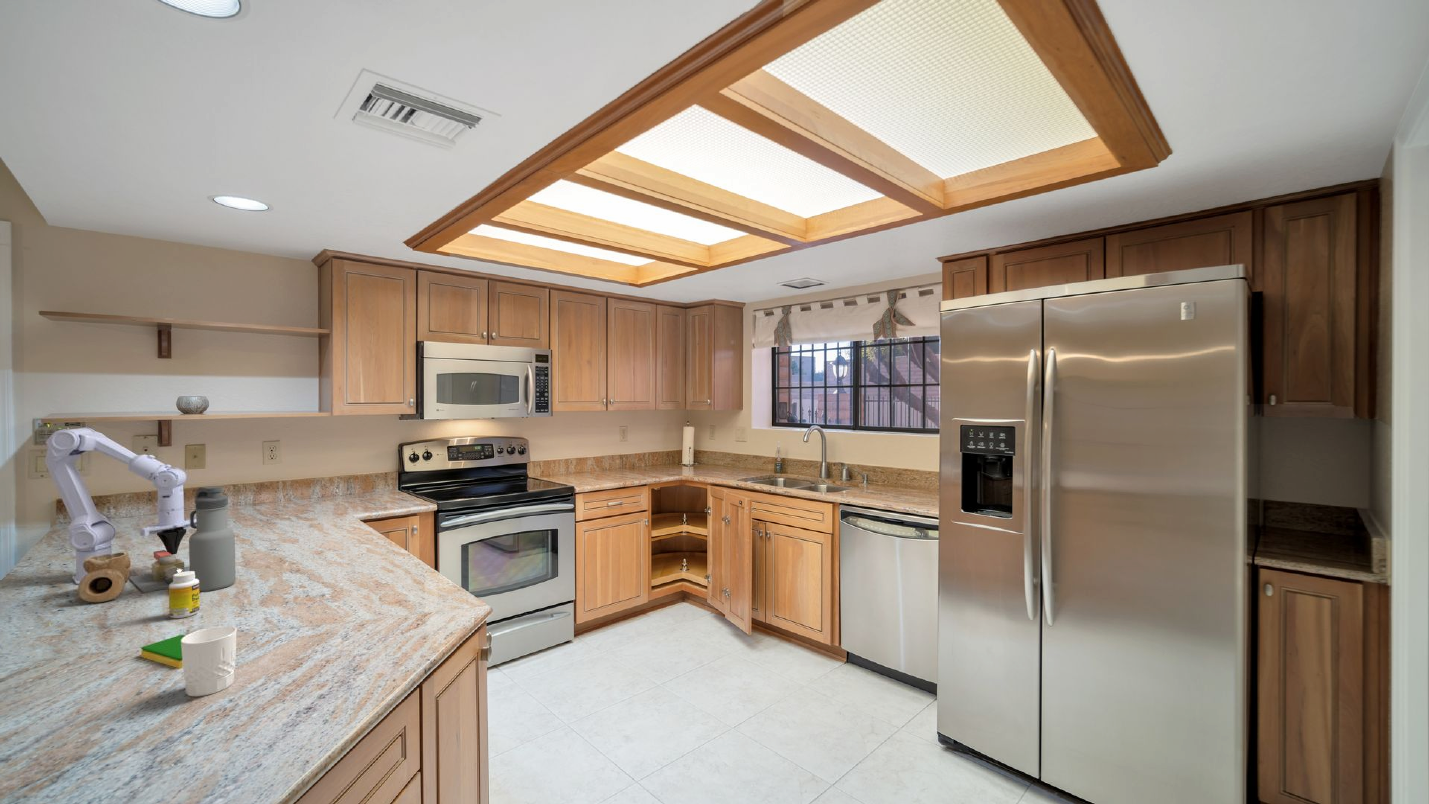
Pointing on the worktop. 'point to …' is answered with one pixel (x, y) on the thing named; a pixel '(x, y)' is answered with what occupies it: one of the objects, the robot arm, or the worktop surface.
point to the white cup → (209, 660)
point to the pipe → (104, 577)
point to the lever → (164, 557)
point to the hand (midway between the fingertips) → (172, 554)
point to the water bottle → (212, 541)
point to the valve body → (166, 570)
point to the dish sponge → (165, 651)
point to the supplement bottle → (184, 595)
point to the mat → (150, 582)
